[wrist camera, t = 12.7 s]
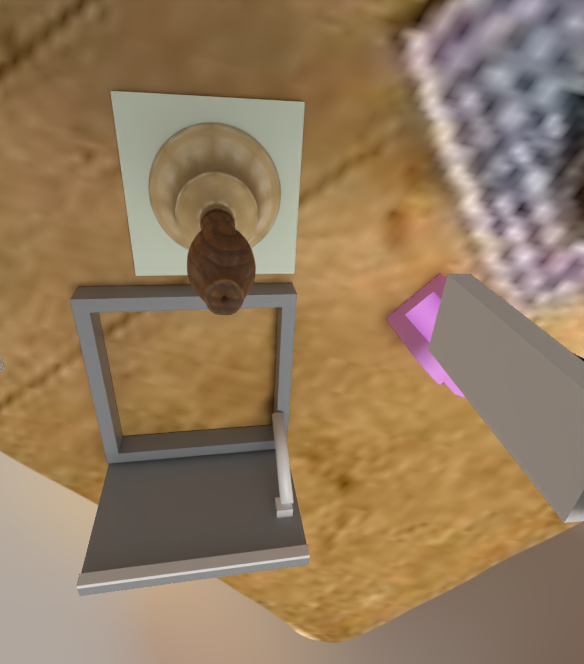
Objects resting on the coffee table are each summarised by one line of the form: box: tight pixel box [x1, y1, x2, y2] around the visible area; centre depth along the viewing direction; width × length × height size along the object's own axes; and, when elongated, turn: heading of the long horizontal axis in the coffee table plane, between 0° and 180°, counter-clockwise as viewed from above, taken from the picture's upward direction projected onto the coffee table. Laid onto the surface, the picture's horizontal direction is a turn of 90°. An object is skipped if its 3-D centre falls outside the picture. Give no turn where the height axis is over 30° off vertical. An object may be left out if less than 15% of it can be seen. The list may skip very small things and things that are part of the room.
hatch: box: [70, 283, 310, 596], centre depth 30 cm, size 16×15×12 cm
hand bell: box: [148, 123, 281, 315], centre depth 21 cm, size 8×8×16 cm
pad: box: [110, 91, 305, 276], centre depth 28 cm, size 11×11×1 cm
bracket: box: [386, 273, 465, 397], centre depth 35 cm, size 13×6×7 cm, turn 42°
